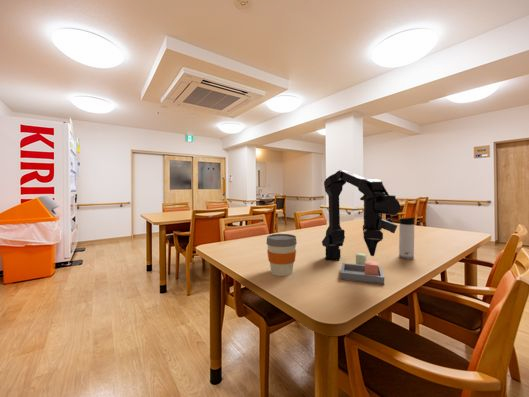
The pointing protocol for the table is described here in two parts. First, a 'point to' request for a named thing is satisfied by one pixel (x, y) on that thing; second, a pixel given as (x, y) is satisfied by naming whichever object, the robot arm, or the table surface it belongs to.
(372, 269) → the red cube
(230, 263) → the table surface
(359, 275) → the serving tray
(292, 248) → the reusable coffee cup
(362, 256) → the green cylinder
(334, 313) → the table surface
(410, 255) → the travel mug
